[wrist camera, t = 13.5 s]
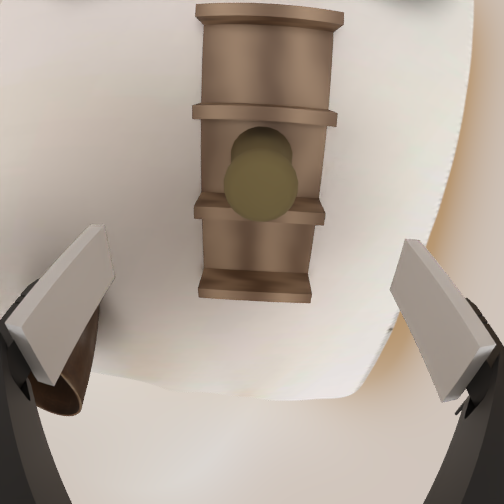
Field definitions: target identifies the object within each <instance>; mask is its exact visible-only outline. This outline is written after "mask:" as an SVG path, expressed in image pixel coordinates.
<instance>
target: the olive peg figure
mask: <svg viewBox="0 0 504 504" xmlns="http://www.w3.org/2000/svg"><path fill="white" fill-rule="evenodd" d="M292 155H293V153H292V149H291V146H290V143H289V142H288V140H287V139H286V137H285V136H284V135H283V134H281V133H280V132H279V131H277V130H275V129H272V128H270V127H261V126H257V127H254V128H250V129H247V130H246V131H244V132H243V133H241V134H240V135H239V136H238V138H237V139H236V140H235V141H234V144H233V146H232V149H231V164H230V165H229V166H228V168H227V171H226V174H225V177H224V193H225V196H226V199H227V202H228V204H229V205H230V206H231V208H232V209H233V210H234V212H236V213H237V214H239V215H240V216H241V217H243V218H245V219H248V220H251V221H255V222H267V221H271V220H275V219H277V218H279V217H280V216H282V215H284V214H285V213H286V212H287V211H288V210H289V209H290V208H291V206H292V205H293V203H294V201H295V198H296V196H297V194H298V179H297V175H296V171H295V169H294V168H293V166H292Z"/></svg>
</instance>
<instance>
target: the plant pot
mask: <svg viewBox="0 0 504 504" xmlns="http://www.w3.org/2000/svg"><path fill="white" fill-rule="evenodd" d="M98 317H99V305H98V306H97V308H96V310H95V311H94V313H93V315H92V317H91V318H90V320H89V322H88V323H87V325H86V327H85V329H84V331H83V332H82V334H81V336H80V338H79V340H78V341H77V343H76V345H75V347H74V349H73V351H72V352H71V354H70V356H69V358H68V360H67V362H66V364H65V366H64V368H63V370H62V372H61V374H60V376H59V378H58V380H57V382H56V384H55V386H52V385H48V384H45V383H42V382H39V381H38V380H37V379H36V377H35V376H34V374H33V373H32V371H31V372H30V373H29V375H28V377H27V378H28V379H29V381H30V383H31V386H32V391H33V395H34V399H35V403H36V406H38V407H40V408H42V409H44V410H46V411H48V412H51V413H54V414H57V415H62V416H74V415H76V414H78V413H79V412H80V411H81V409H82V404H83V400H84V396H85V392H86V388H87V385H88V381H89V376H90V372H91V367H92V362H93V356H94V350H95V344H96V337H97V329H98Z"/></svg>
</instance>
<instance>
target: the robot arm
mask: <svg viewBox="0 0 504 504" xmlns="http://www.w3.org/2000/svg"><path fill="white" fill-rule="evenodd" d="M114 278H115V274H114V269H113V265H112V260H111V255H110V250H109V245H108V240H107V234H106V228H105V225H91V224H90V225H89V226H88V227H87V228H86V229H85V230H84V231H83V232H82V234H81V235H80V236H79V237H78V238H77V239H76V240H75V241H74V242H73V243H72V244H71V245H70V246H69V247H68V248H67V249H66V250H65V251H64V252H63V254H62V255H61V256H60V257H59V258H58V259H57V260H56V261H55V262H54V263H53V265H52V266H51V267H50V268H49V269H48V270H47V271H46V273H45V274H44V275H43V276H42V277H41V278H40V279H37V280H36V281H35V282H33V283H32V284H30V285H29V286H28V287H27V288H26V289H25V290H24V291H23V292H22V294H21V296H19V297H18V299H17V300H16V301H15V303H13V305H12V306H11V307H10V308H9V310H8V311H7V312H6V314H5V315H4V316H3V317H2V319H1V320H0V504H72V503H71V501H70V498H69V496H68V494H67V492H66V490H65V487H64V485H63V483H62V481H61V478H60V475H59V473H58V470H57V468H56V465H55V463H54V460H53V457H52V455H51V452H50V449H49V446H48V443H47V440H46V437H45V434H44V431H43V428H42V425H41V421H40V417H39V414H38V411H37V406H36V403H35V399H34V395H33V391H32V386H31V383H30V381H29V379H28V378H27V377H28V375H29V373H30V372H31V371H32V373H33V374H34V376H35V377H36V379H37V380H38V381H39V382H42V383H45V384H48V385H52V386H55V384H56V382H57V380H58V378H59V376H60V374H61V372H62V370H63V368H64V366H65V364H66V362H67V360H68V358H69V356H70V354H71V352H72V351H73V349H74V347H75V345H76V343H77V341H78V340H79V338H80V336H81V334H82V332H83V331H84V329H85V327H86V325H87V323H88V322H89V320H90V318H91V317H92V315H93V313H94V311H95V310H96V308H97V306H98V305H99V303H100V301H101V300H102V298H103V296H104V295H105V293H106V291H107V290H108V288H109V286H110V285H111V283H112V282H113V280H114ZM390 291H391V293H392V295H393V297H394V299H395V301H396V303H397V305H398V307H399V309H400V311H401V313H402V315H403V317H404V319H405V321H406V323H407V325H408V327H409V329H410V331H411V333H412V335H413V337H414V340H415V342H416V344H417V346H418V348H419V351H420V353H421V355H422V357H423V359H424V362H425V364H426V366H427V369H428V371H429V373H430V376H431V378H432V380H433V383H434V385H435V387H436V390H437V392H438V395H439V397H440V400H441V402H447V401H451V400H456V399H458V398H459V397H460V396H461V394H462V393H463V392H464V390H465V389H467V391H468V393H469V396H468V397H467V399H466V400H465V401H464V402H463V404H462V405H461V406H460V407H459V408H458V410H457V411H456V413H455V415H457V414H458V413H459V412H460V411H461V410H462V412H461V415H460V418H459V421H458V424H457V427H456V430H455V433H454V436H453V438H452V441H451V443H450V446H449V449H448V451H447V454H446V456H445V458H444V461H443V463H442V466H441V468H440V470H439V472H438V474H437V477H436V479H435V481H434V483H433V485H432V487H431V489H430V491H429V493H428V495H427V497H426V499H425V501H424V503H423V504H504V346H503V345H502V343H501V342H500V340H499V338H498V337H497V335H496V334H495V332H494V331H493V329H492V328H491V327H490V325H489V324H487V320H486V319H485V317H483V316H482V313H481V312H480V310H479V309H478V308H477V306H476V305H475V304H474V303H472V302H471V301H470V300H469V299H468V298H465V297H464V296H463V295H462V293H461V292H460V291H459V289H458V288H457V287H456V285H455V284H454V283H453V282H452V280H451V279H450V277H449V276H448V275H447V274H446V272H445V271H444V270H443V269H442V267H441V266H440V265H439V263H438V262H437V261H436V260H435V258H434V257H433V256H432V255H431V254H430V252H429V251H428V250H427V249H426V247H425V246H424V245H423V244H422V243H421V241H420V240H413V239H405V241H404V245H403V248H402V252H401V255H400V259H399V262H398V265H397V269H396V272H395V275H394V278H393V281H392V284H391V287H390Z"/></svg>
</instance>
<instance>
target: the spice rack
mask: <svg viewBox="0 0 504 504" xmlns="http://www.w3.org/2000/svg"><path fill="white" fill-rule="evenodd" d="M195 17H196V18H197V19H198V20H199V21H200V22H201V23H202V24H204V34H203V58H202V96H201V103H199V104H195V105H192V119H201V189H202V192H201V194H200V196H199V198H198V200H197V201H196V203H195V205H194V219H202V229H203V256H204V270H203V273H202V277H201V280H200V283H199V287H198V295H199V297H200V298H215V299H230V300H248V301H267V302H290V303H310V302H311V297H312V292H311V287H310V282H309V277H308V269H309V262H310V256H311V249H312V243H313V236H314V229H315V225H324V220H325V211H324V209H323V207H322V205H321V202H320V200H319V192H320V184H321V175H322V167H323V158H324V149H325V139H326V129H327V126H332V127H336V125H337V115H338V113H335V112H333V111H330V110H328V107H329V95H330V81H331V67H332V50H333V32H334V31H336V30H337V29H338V28H340V27H341V26H343V25H344V12H338V11H332V10H326V9H319V8H311V7H302V6H293V5H281V4H264V3H209V4H196V12H195ZM257 126H261V127H270V128H272V129H275V130H277V131H279V132H280V133H281V134H283V135H284V136H285V137H286V139H287V140H288V142H289V143H290V146H291V149H292V153H293V155H292V166H293V168H294V169H295V171H296V175H297V179H298V194H297V196H296V198H295V201H294V203H293V205H292V206H291V208H290V209H289V210H288V211H287V212H286V213H285V214H284V215H282V216H280V217H279V218H277V219H275V220H271V221H267V222H255V221H251V220H248V219H245V218H243V217H241V216H240V215H239V214H237V213H236V212H234V210H233V209H232V208H231V206H230V205H229V204H228V202H227V199H226V196H225V193H224V177H225V174H226V171H227V168H228V166H229V165H230V164H231V149H232V146H233V144H234V141H235V140H236V139H237V138H238V136H239V135H240V134H241V133H243V132H244V131H246V130H247V129H250V128H254V127H257Z"/></svg>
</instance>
